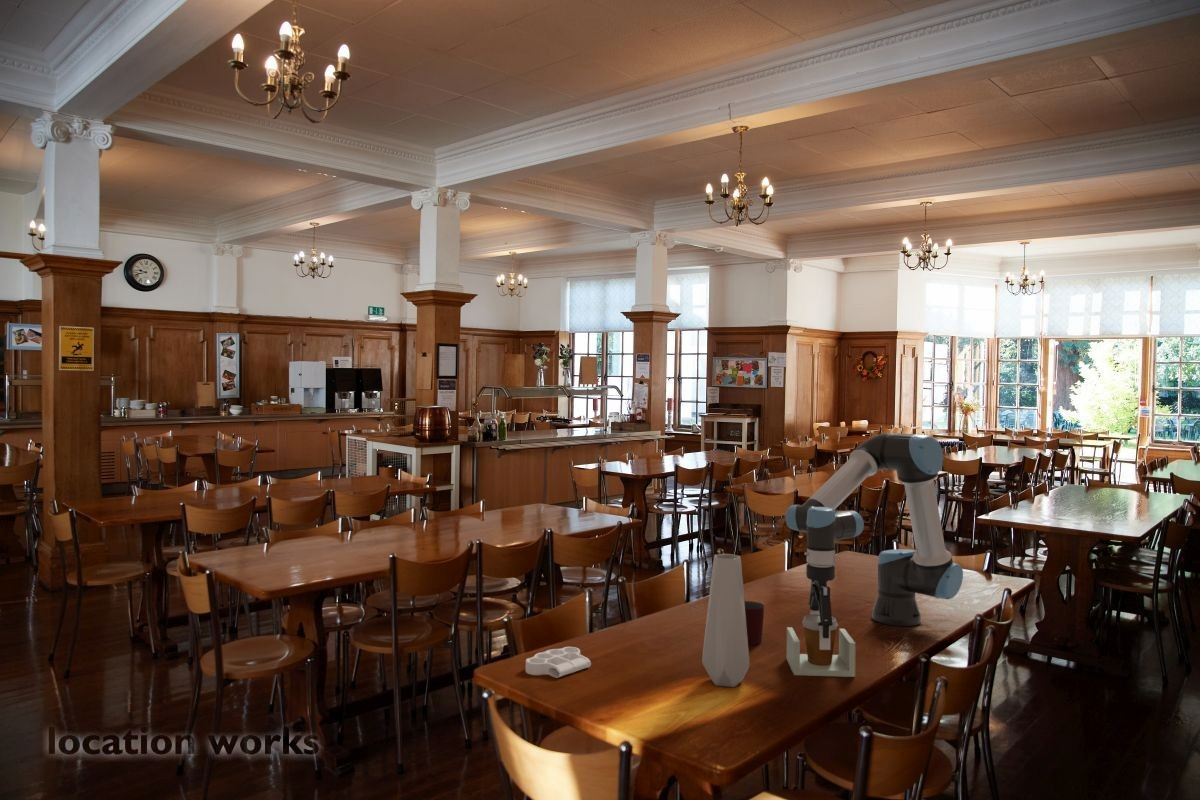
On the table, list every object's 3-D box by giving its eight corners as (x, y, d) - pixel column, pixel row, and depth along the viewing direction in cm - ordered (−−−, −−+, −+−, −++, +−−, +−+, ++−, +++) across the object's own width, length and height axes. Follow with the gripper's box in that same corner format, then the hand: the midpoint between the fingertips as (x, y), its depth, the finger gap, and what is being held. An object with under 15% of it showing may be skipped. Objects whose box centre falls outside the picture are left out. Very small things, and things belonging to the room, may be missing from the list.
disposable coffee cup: (839, 668, 219) (839, 624, 219) (802, 666, 221) (802, 622, 221) (836, 657, 228) (836, 614, 228) (801, 655, 230) (801, 612, 230)
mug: (746, 650, 239) (746, 612, 239) (721, 643, 245) (722, 606, 245) (769, 641, 247) (769, 605, 247) (745, 634, 254) (745, 599, 253)
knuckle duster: (550, 683, 213) (514, 669, 223) (599, 667, 226) (563, 654, 236) (550, 671, 213) (514, 657, 223) (599, 655, 226) (563, 643, 236)
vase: (740, 694, 205) (740, 563, 204) (697, 685, 211) (698, 558, 210) (757, 679, 215) (758, 555, 214) (717, 671, 221) (717, 550, 221)
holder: (844, 660, 230) (844, 628, 230) (855, 676, 217) (855, 643, 217) (786, 658, 232) (786, 627, 231) (793, 675, 219) (794, 641, 218)
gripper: (799, 554, 237) (798, 627, 237) (815, 574, 212) (814, 655, 212) (825, 555, 236) (824, 628, 236) (844, 575, 211) (843, 656, 212)
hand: (819, 641), depth 224 cm, fingers open, 13 cm apart
